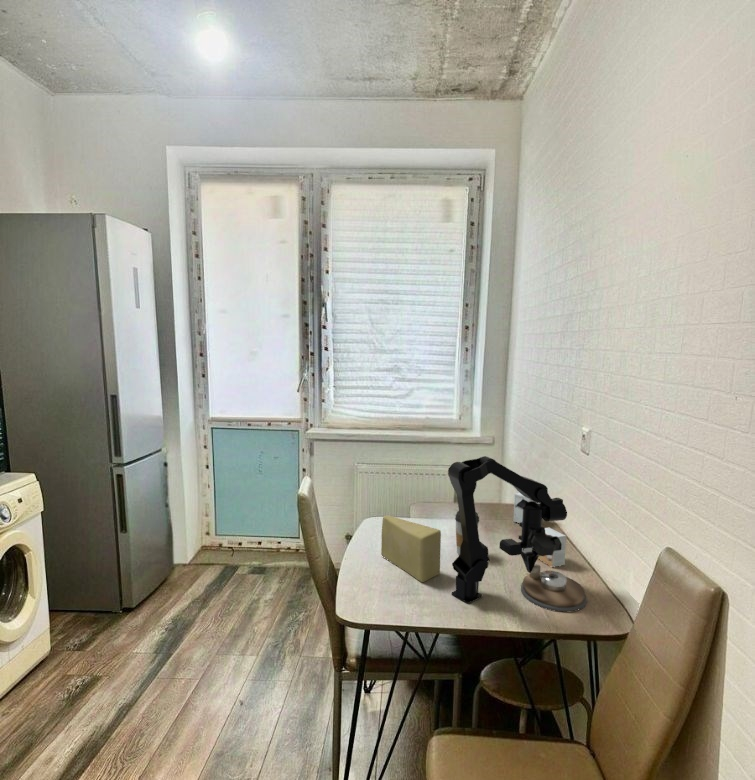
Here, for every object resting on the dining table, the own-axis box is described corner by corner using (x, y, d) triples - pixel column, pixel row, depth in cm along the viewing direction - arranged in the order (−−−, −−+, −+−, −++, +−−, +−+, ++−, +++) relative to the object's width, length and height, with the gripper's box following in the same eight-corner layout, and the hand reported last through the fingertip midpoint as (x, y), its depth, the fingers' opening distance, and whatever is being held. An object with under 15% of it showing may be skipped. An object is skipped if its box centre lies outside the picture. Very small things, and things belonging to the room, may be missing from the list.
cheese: (372, 560, 152) (372, 517, 151) (391, 551, 159) (392, 510, 158) (421, 584, 136) (422, 537, 135) (441, 573, 143) (442, 528, 142)
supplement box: (512, 522, 188) (513, 493, 187) (521, 518, 193) (522, 489, 192) (528, 527, 183) (530, 497, 182) (537, 523, 188) (538, 494, 187)
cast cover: (552, 594, 126) (553, 583, 126) (535, 582, 133) (535, 572, 133) (571, 589, 129) (571, 579, 129) (553, 578, 136) (554, 568, 135)
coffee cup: (476, 561, 152) (478, 519, 151) (452, 557, 154) (453, 515, 153) (479, 551, 160) (480, 511, 158) (456, 548, 162) (457, 508, 161)
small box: (535, 558, 155) (536, 528, 154) (547, 555, 157) (549, 526, 156) (552, 568, 148) (553, 537, 147) (565, 565, 150) (566, 535, 149)
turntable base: (566, 619, 119) (566, 616, 119) (506, 590, 133) (506, 586, 133) (597, 597, 130) (598, 594, 130) (539, 572, 145) (539, 569, 144)
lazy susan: (552, 612, 120) (552, 594, 120) (510, 582, 136) (511, 566, 135) (598, 600, 127) (599, 583, 126) (553, 572, 142) (554, 557, 142)
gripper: (522, 534, 124) (519, 588, 125) (576, 529, 130) (573, 581, 131) (499, 520, 134) (497, 571, 135) (550, 516, 140) (547, 564, 141)
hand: (529, 572), depth 135 cm, fingers closed
